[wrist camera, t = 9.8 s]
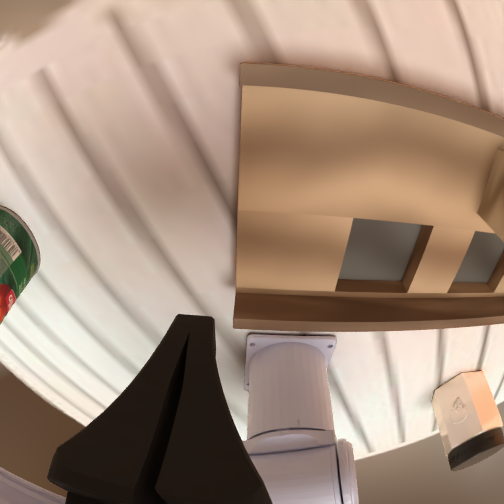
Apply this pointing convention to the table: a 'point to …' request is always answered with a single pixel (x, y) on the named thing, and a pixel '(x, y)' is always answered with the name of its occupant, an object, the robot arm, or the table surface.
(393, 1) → the table surface
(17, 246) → the canned tomato
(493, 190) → the maple block
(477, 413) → the jar
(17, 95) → the table surface
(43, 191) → the table surface
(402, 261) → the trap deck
